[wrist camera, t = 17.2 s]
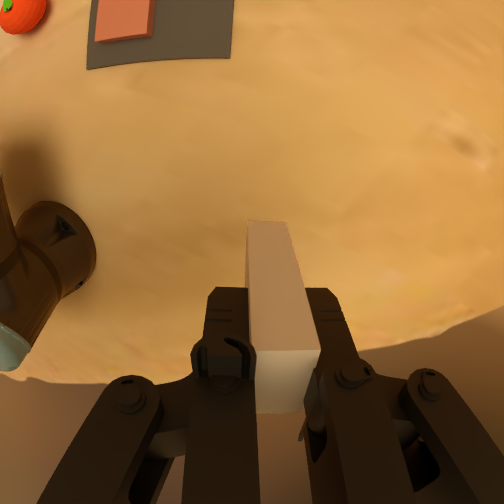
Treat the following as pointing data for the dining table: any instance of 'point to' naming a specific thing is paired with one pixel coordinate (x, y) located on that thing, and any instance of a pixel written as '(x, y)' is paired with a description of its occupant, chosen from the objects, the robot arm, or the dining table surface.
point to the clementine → (21, 15)
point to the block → (124, 20)
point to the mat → (169, 34)
